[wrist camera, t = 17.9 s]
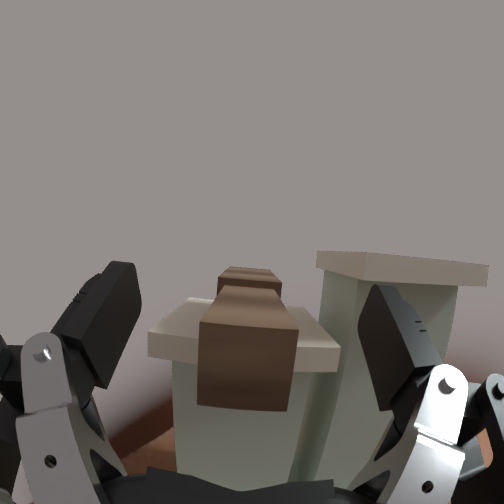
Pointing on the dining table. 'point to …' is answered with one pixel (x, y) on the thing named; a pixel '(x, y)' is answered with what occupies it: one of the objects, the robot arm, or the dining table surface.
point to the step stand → (306, 378)
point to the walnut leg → (246, 344)
